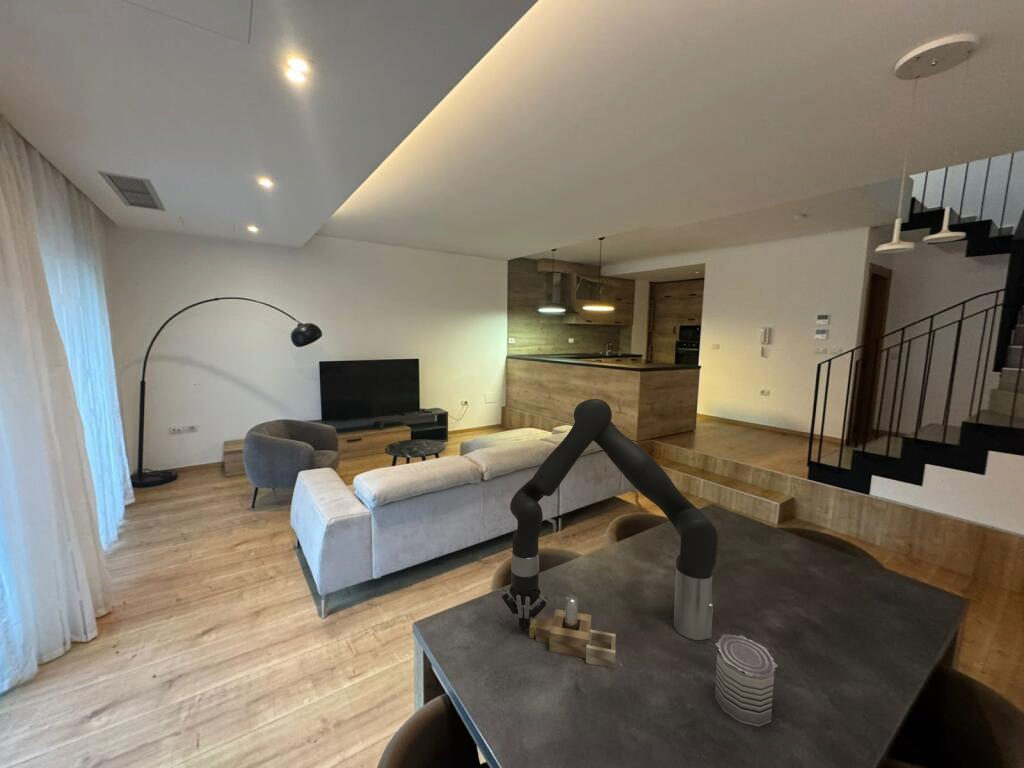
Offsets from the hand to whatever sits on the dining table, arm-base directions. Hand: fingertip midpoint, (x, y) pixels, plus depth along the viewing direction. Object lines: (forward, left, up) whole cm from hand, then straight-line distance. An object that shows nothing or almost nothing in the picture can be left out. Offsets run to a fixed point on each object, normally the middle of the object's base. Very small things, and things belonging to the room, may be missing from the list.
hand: (524, 628), depth 112 cm
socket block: (-11, 0, -1) cm, 11 cm away
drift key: (-6, 0, -1) cm, 6 cm away
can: (-52, +9, -1) cm, 53 cm away
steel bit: (-13, 0, -1) cm, 13 cm away
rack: (-21, +3, -1) cm, 21 cm away
